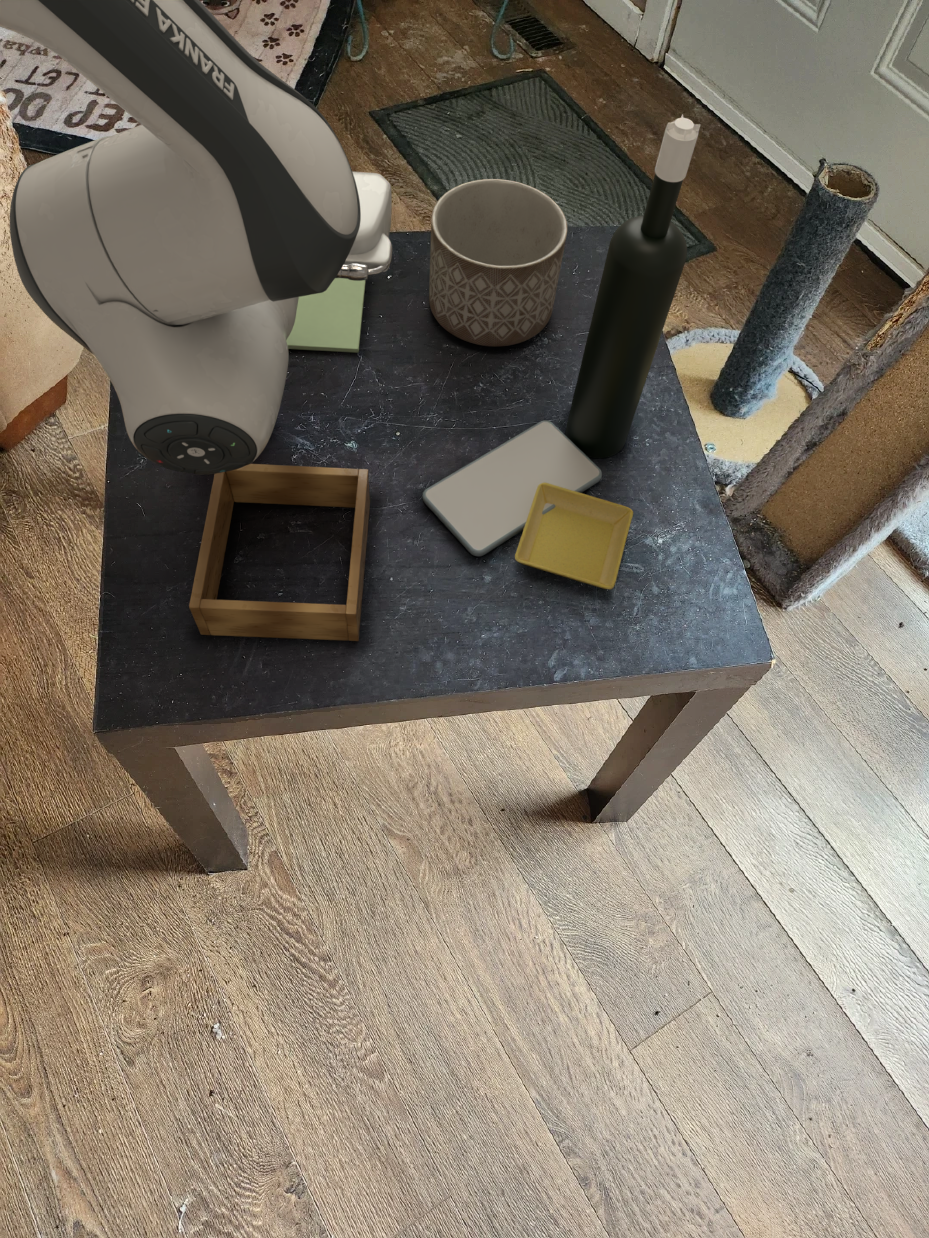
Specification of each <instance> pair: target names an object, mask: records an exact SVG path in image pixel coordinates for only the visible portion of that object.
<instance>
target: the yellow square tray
mask: <svg viewBox="0 0 929 1238" xmlns="http://www.w3.org/2000/svg"><path fill="white" fill-rule="evenodd" d="M546 503H549V504H554V505H555V508H553V509H552V510H550V511H549V512H547V513H545V514H542V511H543V509H544V506H545V504H546ZM633 517H634V511H633V510H632V508H630V507H628V506H626V505H623V504H619V503H616V502H613V501H609V500H606V499H602V498H599V497H596V496H593V495H589V494H585V493H583V492H582V493H579V492H576V491H572V490H569V489H566V488H563V487H560V486H556V485H552V484H549V483H545V482H544V483H541V484H539V485H538V487H537V490H536V493H535V496H534V499H533V502H532V505H531V508H530V512H529V515H528V518H527V521H526V524H525V527H524V530H522V534H521V536H520V539H519V542H518V545H517V548H516V551H515V554H514V559H515V562H517V563H519V564H521V565H524V566H527V567H531V568H534V569H537V570H539V571H540V570H541V571H545V572H547V573H551V574H554V575H557V576H560V577H564V578H566V579H570V580H574V581H577V582H580V583H583V584H587V585H590V586H594V587H597V588H600V589H604V590H613V589H614V587H615V585H616V582H617V579H618V575H619V574H618V573H619V570H620V566H621V562H622V558H623V554H624V551H625V546H626V543H627V537H628V535H629V531H630V527H631V524H632V520H633Z"/></svg>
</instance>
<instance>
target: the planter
mask: <svg viewBox="0 0 929 1238" xmlns="http://www.w3.org/2000/svg"><path fill="white" fill-rule="evenodd" d="M430 220H431V221H430V222H431V223H430V251H429V252H430V253H429V281H428V283H429V284H428V287H429V288H428V304H429V307H430V310H431V313H432V315H433V316H434V318H435V320H436V321H437V323H438V324H439V325H440V326H441V327H442V328H443V329H444V330H445V331H446V332H448V333H449V334H451V335H452V336H454V337H456V338H457V339H459V340H462V341H464V342H467V343H471V344H472V345H473V344H474V345H478V346H483V347H508V346H513V345H517V344H518V345H519V344H520V343H524V342H526V341H528V340H530V339H532V338H534V337H535V336H537V335H538V334H539V333H540V332H541V331H542V330H544V328H545V327H546V325H548V323H549V321H550V319H551V317H552V314H553V310H554V305H555V300H556V294H557V290H558V283H559V278H560V272H561V269H562V263H563V256H564V251H565V248H566V247H565V246H566V241H567V237H568V236H567V235H568V221H567V219H566V215H565V213H564V211H563V210H562V209H561V207H560V206H559V205H558V203H557V202H556V201H555V200H554V199H552V198H551V197H550V196H549V195H548V194H546V193H545V192H543V191H541V190H539V189H538V188H535V187H533V186H531V185H529V184H526V183H522V182H518V181H514V180H510V179H509V180H508V179H499V178H484V179H477V180H471V181H468V182H463V183H462V184H458V185H456V186H454V187H453V188H451V189H450V190H448V191H446V192H445V193H444V194H443V195H442V196H441V197H440V198H439V199H438V200H437V201H436V203H435V204H434V206H433V208H432V212H431V219H430Z"/></svg>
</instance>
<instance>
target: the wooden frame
mask: <svg viewBox="0 0 929 1238" xmlns="http://www.w3.org/2000/svg"><path fill="white" fill-rule="evenodd" d="M212 479H213V480H212V485H211V491H210V495H209V501H208V505H207V511H206V515H205V516H206V517H205V522H204V527H203V532H202V537H201V543H200V548H199V552H198V558H197V562H196V568H195V573H194V579H193V584H192V590H191V594H190V600H189V604H188V608H189V611H190V613H191V615H192V618H193V620H194V622H195V624H196V626H197V629H198V631H199V633H200V635H201V636H219V637H221V636H222V637H223V636H225V637H226V636H227V637H246V638H273V639H274V638H275V639H277V638H279V639H299V640H300V639H301V640H322V641H323V640H325V641H327V640H328V641H349V642H359V641H360V630H361V617H362V606H363V593H364V592H363V591H364V581H365V569H366V555H367V546H368V545H367V543H368V530H369V519H370V507H371V506H370V505H371V495H370V494H371V492H370V476H369V469H367V468H347V467H326V466H325V467H324V466H307V465H306V466H303V465H285V464H283V465H281V464H265V463H263V464H262V463H251V464H249V465H246V466H244V467H242V468H239V469H235V470H231V471H227V472H222V473H216V474H213V478H212ZM234 503H247V504H249V503H250V504H266V505H267V504H268V505H269V504H271V505H290V506H310V507H311V506H312V507H313V506H314V507H333V508H334V507H335V508H354V516H353V527H352V539H351V551H350V560H349V570H348V571H349V573H348V583H347V593H346V604H333V603H311V602H310V603H309V602H287V601H286V602H283V601H260V600H237V599H236V600H235V599H218V596H219V589H220V583H221V578H222V573H223V567H224V561H225V555H226V549H227V543H228V538H229V533H230V527H231V520H232V515H233V509H234V505H235V504H234Z"/></svg>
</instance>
